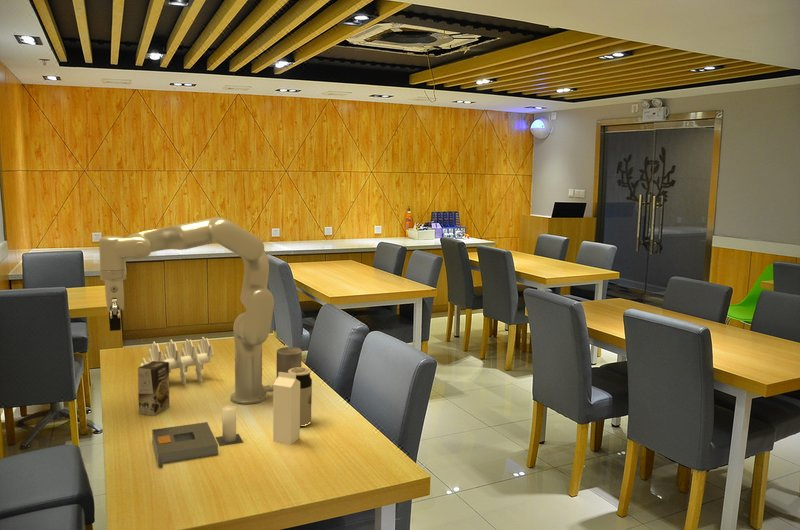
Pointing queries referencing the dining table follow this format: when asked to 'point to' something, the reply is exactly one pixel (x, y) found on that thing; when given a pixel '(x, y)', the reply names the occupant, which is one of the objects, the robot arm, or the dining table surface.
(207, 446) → the block
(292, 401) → the milk
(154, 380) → the coffee box
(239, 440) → the pad
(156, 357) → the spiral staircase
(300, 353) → the pillar candle
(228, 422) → the peg
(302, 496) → the dining table surface
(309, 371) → the travel mug
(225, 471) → the dining table surface
